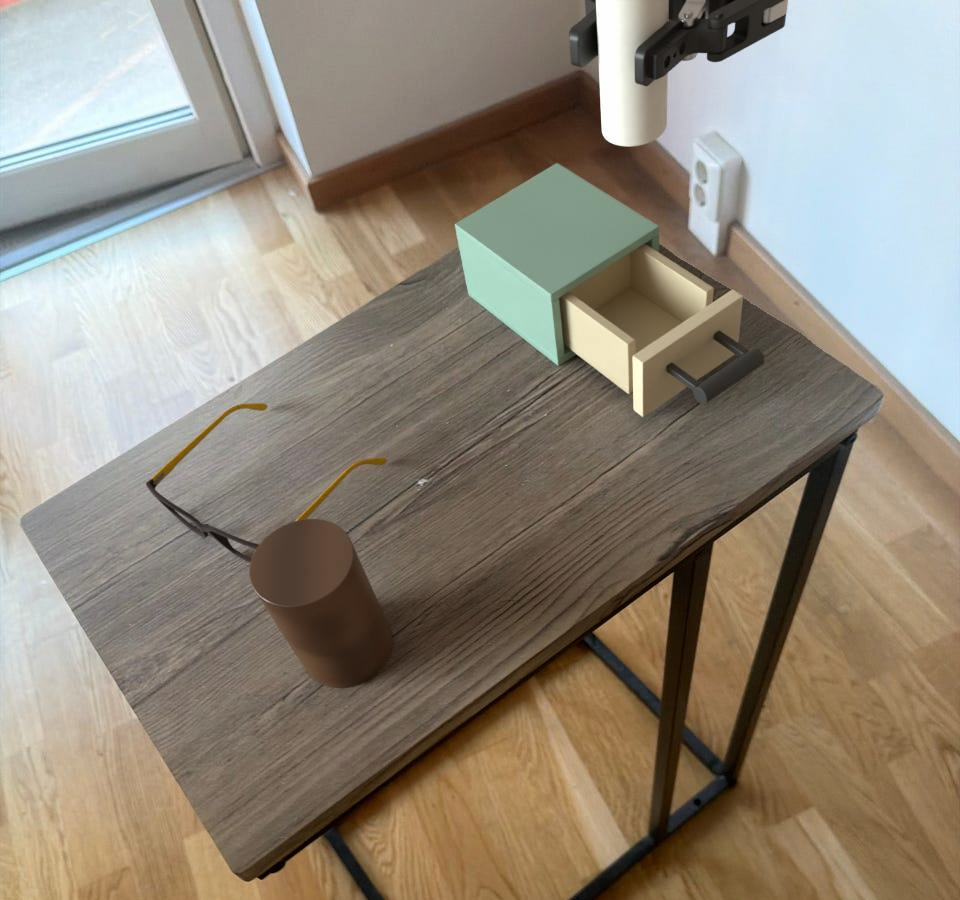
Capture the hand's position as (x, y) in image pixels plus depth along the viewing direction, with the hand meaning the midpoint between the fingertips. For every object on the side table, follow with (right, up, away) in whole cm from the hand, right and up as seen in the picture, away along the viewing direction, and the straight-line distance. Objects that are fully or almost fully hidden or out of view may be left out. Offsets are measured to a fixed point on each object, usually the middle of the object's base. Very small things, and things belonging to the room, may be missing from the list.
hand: (607, 60), depth 58 cm
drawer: (+7, -13, +21) cm, 25 cm away
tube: (+3, -1, +6) cm, 6 cm away
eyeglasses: (-25, -24, +21) cm, 41 cm away
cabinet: (0, -5, +28) cm, 28 cm away
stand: (-18, -37, +12) cm, 42 cm away
